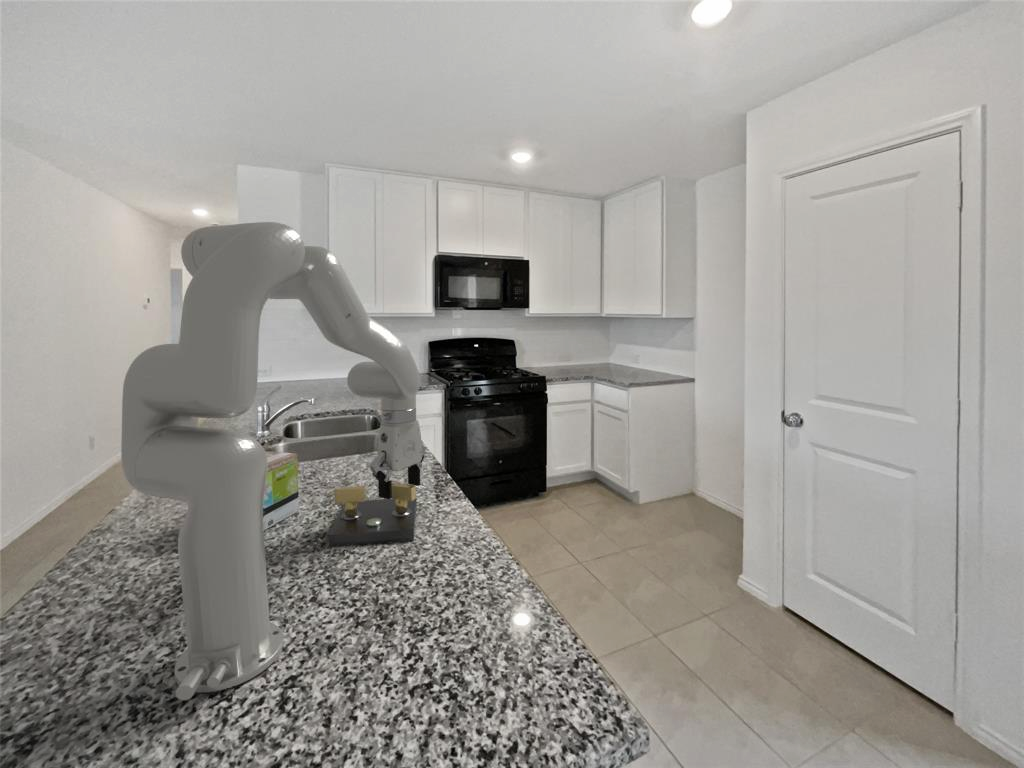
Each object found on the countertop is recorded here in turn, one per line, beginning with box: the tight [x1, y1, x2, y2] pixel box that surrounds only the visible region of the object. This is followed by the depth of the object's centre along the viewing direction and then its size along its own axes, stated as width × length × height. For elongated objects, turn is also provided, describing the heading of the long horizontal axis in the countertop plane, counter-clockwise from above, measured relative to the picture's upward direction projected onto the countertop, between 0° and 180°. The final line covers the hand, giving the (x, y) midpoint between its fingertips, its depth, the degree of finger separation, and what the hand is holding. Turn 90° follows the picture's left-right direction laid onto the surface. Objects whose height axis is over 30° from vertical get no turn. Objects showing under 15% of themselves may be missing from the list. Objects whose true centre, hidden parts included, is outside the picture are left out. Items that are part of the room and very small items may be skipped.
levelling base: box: [327, 496, 418, 547], centre depth 104 cm, size 18×17×3 cm
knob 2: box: [391, 482, 417, 513], centre depth 104 cm, size 3×6×6 cm, turn 72°
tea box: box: [263, 450, 300, 531], centre depth 105 cm, size 15×10×15 cm
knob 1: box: [333, 485, 367, 516], centre depth 102 cm, size 3×6×6 cm, turn 100°
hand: (400, 490), depth 104 cm, fingers open, 9 cm apart
